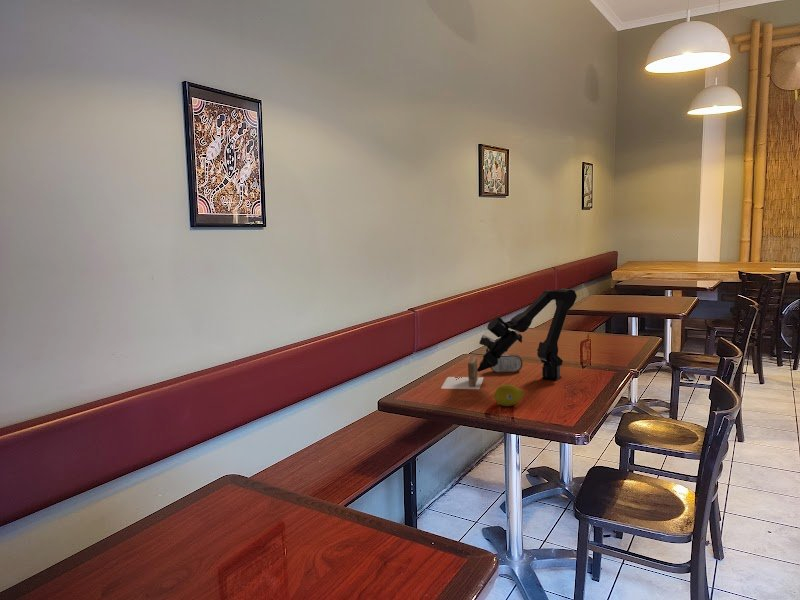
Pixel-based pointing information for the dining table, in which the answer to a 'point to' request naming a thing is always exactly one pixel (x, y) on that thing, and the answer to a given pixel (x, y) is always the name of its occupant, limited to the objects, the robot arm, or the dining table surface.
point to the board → (472, 371)
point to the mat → (460, 383)
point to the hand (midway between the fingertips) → (478, 368)
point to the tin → (508, 363)
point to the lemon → (508, 395)
